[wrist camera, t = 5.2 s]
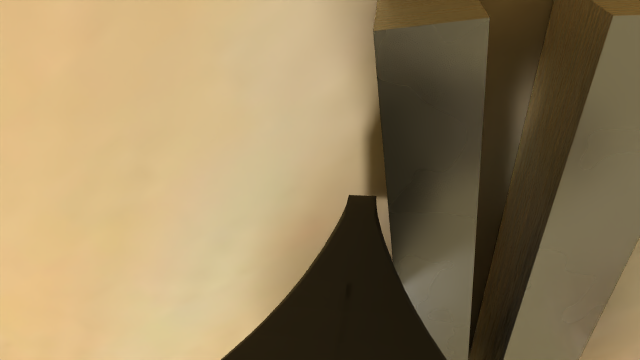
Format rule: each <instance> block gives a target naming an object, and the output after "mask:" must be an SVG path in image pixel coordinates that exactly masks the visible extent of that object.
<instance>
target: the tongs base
mask: <svg viewBox="0 0 640 360" xmlns="http://www.w3.org/2000/svg"><path fill="white" fill-rule="evenodd" d="M639 237H640V0H554V1H553V6H552V10H551V14H550V18H549V23H548V27H547V31H546V35H545V39H544V44H543V48H542V52H541V56H540V60H539V65H538V69H537V73H536V77H535V81H534V86H533V90H532V94H531V98H530V102H529V107H528V111H527V115H526V119H525V124H524V128H523V132H522V136H521V140H520V145H519V149H518V153H517V157H516V161H515V166H514V170H513V174H512V178H511V182H510V187H509V191H508V195H507V199H506V203H505V208H504V212H503V216H502V220H501V225H500V229H499V233H498V237H497V241H496V246H495V250H494V254H493V258H492V262H491V267H490V271H489V275H488V279H487V283H486V288H485V292H484V296H483V300H482V304H481V309H480V313H479V317H478V321H477V325H476V330H475V334H474V338H473V342H472V347H471V351H470V355H469V359H468V360H579V358H580V356H581V354H582V352H583V350H584V348H585V346H586V344H587V342H588V340H589V338H590V336H591V334H592V332H593V330H594V328H595V326H596V324H597V322H598V320H599V318H600V316H601V314H602V312H603V310H604V308H605V306H606V304H607V302H608V300H609V298H610V296H611V294H612V292H613V290H614V288H615V286H616V284H617V282H618V280H619V278H620V276H621V274H622V272H623V270H624V268H625V266H626V264H627V262H628V260H629V257H630V255H631V253H632V251H633V249H634V247H635V245H636V243H637V241H638V239H639Z"/></svg>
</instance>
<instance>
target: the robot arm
mask: <svg viewBox="0 0 640 360" xmlns="http://www.w3.org/2000/svg"><path fill="white" fill-rule="evenodd" d="M221 360H447V359H446V357H445V356H444V354H443V353H442V351H441V350H440V348H439V347H438V345H437V344H436V342H435V341H434V339H433V338H432V337H431V335H430V333H429V332H428V330H427V329H426V327H425V325H424V323H423V322H422V320H421V318H420V317H419V315H418V313H417V311H416V310H415V308H414V306H413V304H412V302H411V300H410V299H409V297H408V295H407V293H406V291H405V289H404V287H403V285H402V282H401V280H400V278H399V276H398V274H397V271H396V269H395V267H394V264H393V262H392V259H391V257H390V254H389V251H388V249H387V246H386V243H385V240H384V237H383V234H382V231H381V227H380V223H379V219H378V214H377V206H376V196H360V195H349V197H348V201H347V205H346V207H345V210H344V212H343V214H342V216H341V218H340V220H339V222H338V223H337V225H336V227H335V229H334V231H333V232H332V234H331V236H330V237H329V239H328V240H327V242H326V244H325V245H324V247H323V249H322V250H321V252H320V253H319V255H318V256H317V257H316V259H315V260H314V262H313V263H312V264H311V266H310V267H309V269H308V270H307V271H306V273H305V274H304V275H303V277H302V278H301V279H300V281H299V282H298V283H297V284H296V286H295V287H294V288H293V289H292V290H291V292H290V293H289V294H288V295H287V296H286V297H285V299H284V300H283V301H282V302H281V303H280V304H279V305H278V306H277V307H276V308H275V309H274V310H273V312H272V313H271V314H270V315H269V316H268V317H267V318H266V319H265V320H264V321H263V322H262V323H261V324H260V325H259V326H258V327H257V328H256V329H255V330H254V331H253V332H252V333H251V334H249V335H248V336H247V337H246V338H245V339H244V340H243V341H242V342H240V343H239V344H238V345H237V346H236V347H235V348H234V349H233V350H231V351H230V352H229V353H228V354H227V355H226V356H225V357H224V358H222V359H221Z"/></svg>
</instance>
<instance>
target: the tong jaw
mask: <svg viewBox="0 0 640 360" xmlns="http://www.w3.org/2000/svg"><path fill="white" fill-rule="evenodd" d="M489 21H490V17H489V16H488V14H487V12H486V11H485V9H484V7H483V6H482V4H481V2H480V1H479V0H378V1H377V8H376V15H375V22H374V29H373V34H374V46H375V58H376V69H377V81H378V92H379V104H380V116H381V127H382V139H383V151H384V162H385V174H386V186H387V197H388V209H389V220H390V232H391V244H392V255H393V264H394V267H395V269H396V271H397V274H398V276H399V278H400V280H401V282H402V285H403V287H404V289H405V291H406V293H407V295H408V297H409V299H410V300H411V302H412V304H413V306H414V308H415V310H416V311H417V313H418V315H419V317H420V318H421V320H422V322H423V323H424V325H425V327H426V329H427V330H428V332H429V333H430V335H431V337H432V338H433V339H434V341H435V342H436V344H437V345H438V347H439V348H440V350H441V351H442V353H443V354H444V356H445V357H446V359H447V360H468V351H469V335H470V319H471V303H472V288H473V272H474V256H475V241H476V225H477V209H478V194H479V178H480V162H481V147H482V131H483V115H484V100H485V84H486V68H487V52H488V37H489Z"/></svg>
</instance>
